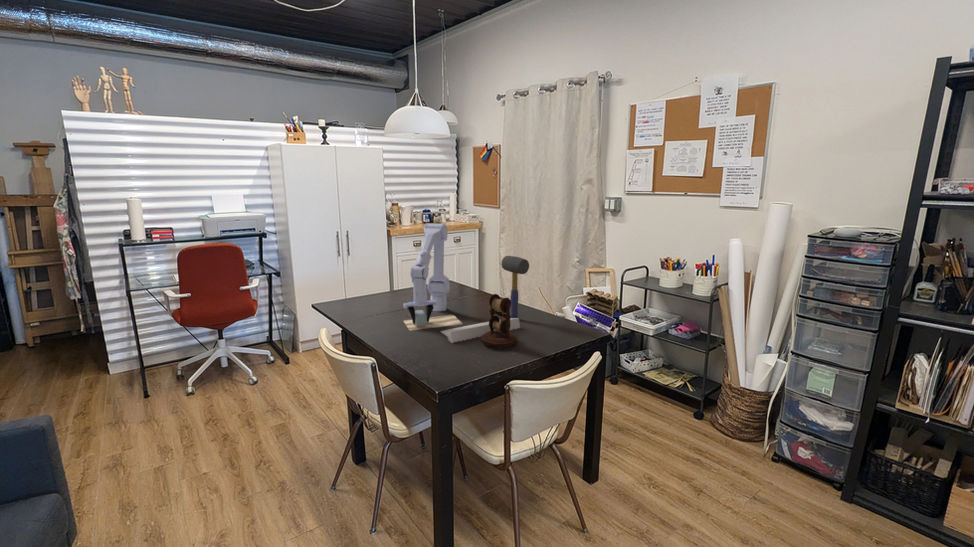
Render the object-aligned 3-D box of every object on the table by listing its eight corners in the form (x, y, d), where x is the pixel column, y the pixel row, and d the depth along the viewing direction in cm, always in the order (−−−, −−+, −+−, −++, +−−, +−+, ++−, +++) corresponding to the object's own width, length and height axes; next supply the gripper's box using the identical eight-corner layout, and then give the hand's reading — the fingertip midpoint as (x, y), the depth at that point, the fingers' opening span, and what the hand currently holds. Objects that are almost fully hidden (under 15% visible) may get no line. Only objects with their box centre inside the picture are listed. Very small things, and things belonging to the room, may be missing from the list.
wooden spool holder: (525, 344, 184) (526, 296, 179) (497, 353, 175) (497, 303, 170) (501, 334, 195) (501, 289, 190) (473, 342, 186) (474, 294, 181)
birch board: (403, 323, 207) (403, 320, 207) (453, 317, 215) (453, 314, 215) (409, 333, 194) (409, 330, 194) (462, 327, 203) (462, 324, 202)
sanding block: (412, 321, 205) (412, 310, 204) (422, 320, 207) (422, 309, 206) (416, 327, 198) (416, 316, 197) (426, 325, 200) (426, 315, 199)
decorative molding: (441, 342, 193) (452, 343, 184) (440, 331, 193) (450, 332, 184) (507, 328, 210) (520, 328, 202) (506, 318, 210) (518, 318, 202)
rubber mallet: (499, 317, 216) (500, 255, 209) (510, 314, 221) (511, 253, 214) (517, 324, 207) (519, 259, 200) (529, 320, 212) (530, 257, 205)
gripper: (405, 296, 193) (406, 326, 196) (438, 293, 198) (438, 322, 201) (402, 292, 200) (403, 321, 203) (434, 289, 205) (434, 318, 208)
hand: (420, 322), depth 202 cm, fingers open, 6 cm apart
